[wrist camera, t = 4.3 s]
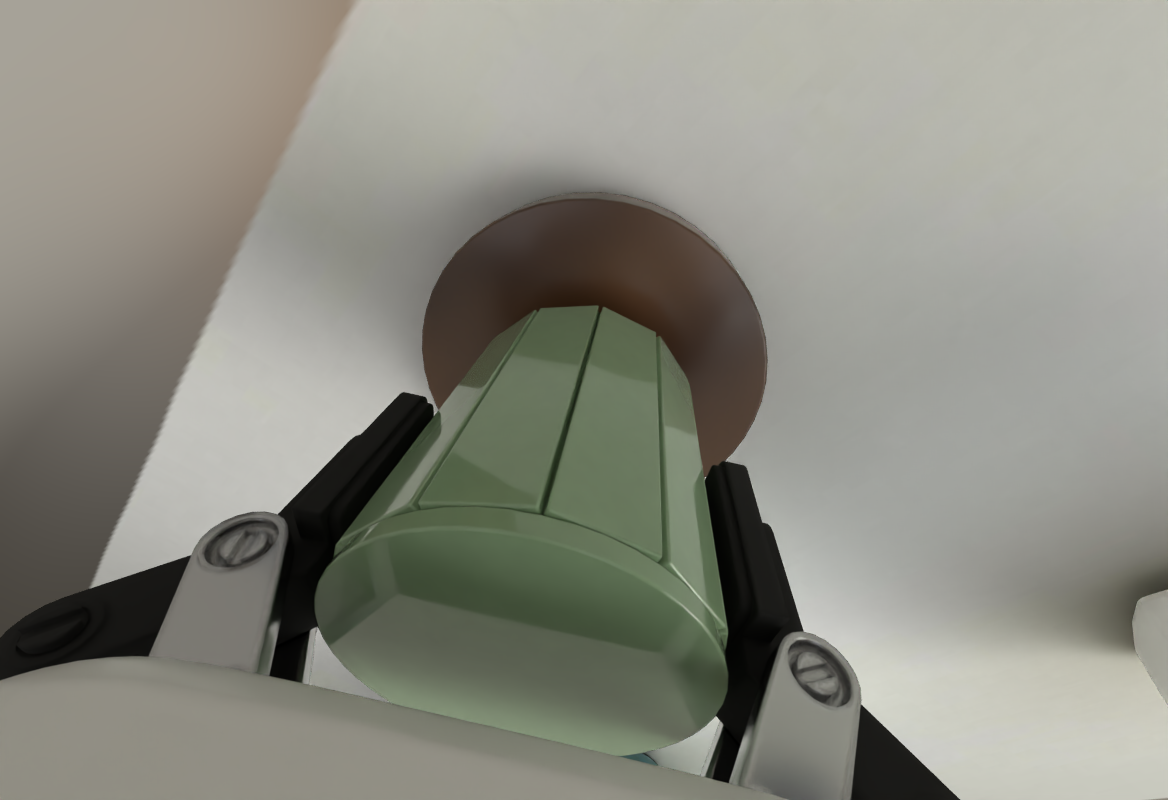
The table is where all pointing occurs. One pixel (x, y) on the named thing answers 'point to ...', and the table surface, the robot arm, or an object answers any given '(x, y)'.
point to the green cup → (544, 548)
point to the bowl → (1153, 638)
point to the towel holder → (607, 299)
